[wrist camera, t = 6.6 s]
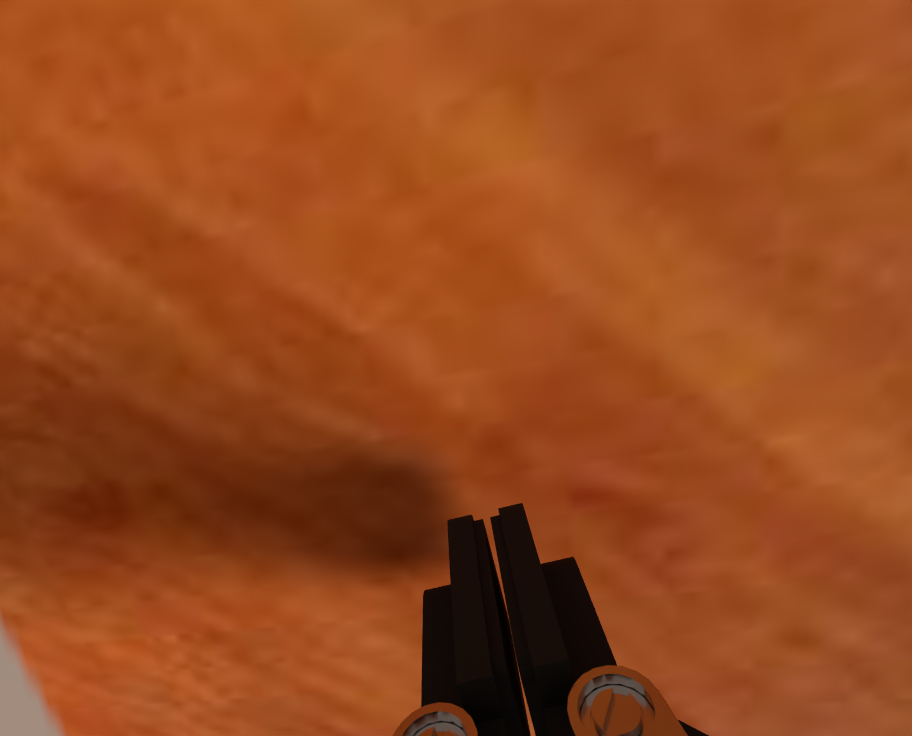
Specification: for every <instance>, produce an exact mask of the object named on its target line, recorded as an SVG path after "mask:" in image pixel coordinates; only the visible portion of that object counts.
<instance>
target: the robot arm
mask: <svg viewBox="0 0 912 736" xmlns="http://www.w3.org/2000/svg"><path fill="white" fill-rule="evenodd" d="M498 509H499V514H500V515H498V516H494V517H490V519H491V524H492V529H493V535H494V540H495V546H496V551H497V556H498V562H499V567H500V572H501V578H502V583H503V589H504V594H505V599H506V605H507V610H508V615H509V619H508V615H507V611H506V607H505V603H504V599H503V595H502V591H501V587H500V583H499V580H498V576H497V572H496V568H495V564H494V560H493V556H492V552H491V549H490V545H489V541H488V537H487V533H486V529H485V525H484V522H483V519H481V520H477V521H474V520H473V516H472V515H468V516H463V517H459V518H455V519H450V520H448V542H449V561H450V579H451V584H450V585H446V586H442V587H437V588H433V589H428V590H425V591H424V594H423V638H422V702H421V708H419V709H417V710H416V711H414V712H412V713H411V714H410V715H409V716H408V717H407V718H406V719H404V720H403V721H402V722H401V724H400V725H399V727H398V728H397V730H396V731H395V733H394V734H393V736H530V730H529V725H528V719H527V714H526V709H525V703H524V698H523V692H522V687H521V682H520V676H521V680H522V684H523V688H524V692H525V696H526V700H527V704H528V707H529V711H530V715H531V719H532V723H533V727H534V730H535V734H536V736H708V735H706V734H705V733H703V732H701V731H699V730H697V729H695V728H693V727H691V726H689V725H687V724H685V723H683V722H681V721H680V720H678V719H677V718H676V717H675V715H674V714H673V712H672V710H671V709H670V707H669V706H668V704H667V703H666V701H665V700H664V698H663V697H662V695H661V693H660V692H659V690H658V689H657V688H656V687H655V686H654V685H653V684H652V682H651V681H650V680H649V679H648V678H646V677H645V676H643V675H642V674H640V673H639V672H637V671H635V670H632V669H629V668H626V667H623V666H617V664H616V661H615V659H614V656H613V654H612V651H611V649H610V646H609V644H608V641H607V639H606V636H605V634H604V631H603V629H602V626H601V624H600V621H599V618H598V616H597V613H596V611H595V608H594V606H593V603H592V601H591V598H590V596H589V593H588V591H587V588H586V586H585V583H584V581H583V578H582V575H581V573H580V570H579V568H578V565H577V563H576V561H575V559H574V557H570V558H565V559H561V560H556V561H552V562H548V563H543V564H540V561H539V557H538V554H537V551H536V547H535V544H534V540H533V537H532V534H531V530H530V527H529V524H528V520H527V517H526V514H525V510H524V507H523V504H522V503H520V504H516V505H511V506H507V507H503V508H498ZM509 621H510V623H509ZM510 626H511V628H510ZM511 631H512V633H511ZM512 637H513V639H512ZM513 642H514V644H513ZM514 648H515V649H514ZM515 653H516V655H515ZM516 658H517V660H516ZM517 663H518V666H517ZM518 667H519V671H518ZM519 672H520V676H519Z"/></svg>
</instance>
